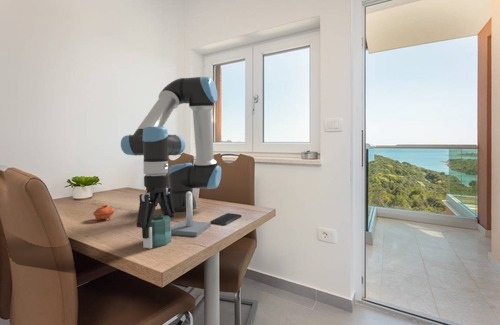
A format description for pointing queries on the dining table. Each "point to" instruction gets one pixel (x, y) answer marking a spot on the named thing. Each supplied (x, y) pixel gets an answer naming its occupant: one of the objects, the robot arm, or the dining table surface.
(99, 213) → the pot
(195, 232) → the spindle plate
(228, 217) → the phone
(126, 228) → the dining table surface
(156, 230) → the bead
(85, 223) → the dining table surface
